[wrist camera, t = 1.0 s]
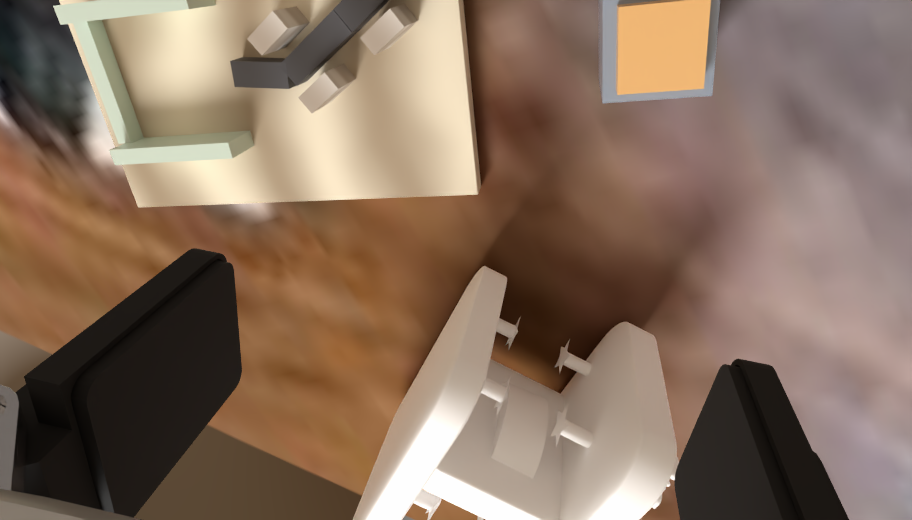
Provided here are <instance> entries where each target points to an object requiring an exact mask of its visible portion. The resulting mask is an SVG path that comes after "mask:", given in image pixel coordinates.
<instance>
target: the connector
mask: <svg viewBox="0 0 912 520" xmlns="http://www.w3.org/2000/svg"><path fill="white" fill-rule="evenodd" d="M719 10H720V0H599V84H600V90H601V97H602V103H615V102H629V101H644V100H659V99H673V98H688V97H702V96H712V92H713V80H714V68H715V56H716V45H717V33H718V21H719Z"/></svg>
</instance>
